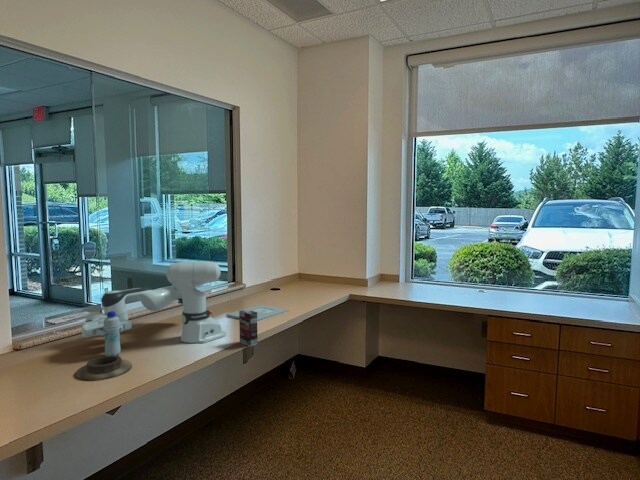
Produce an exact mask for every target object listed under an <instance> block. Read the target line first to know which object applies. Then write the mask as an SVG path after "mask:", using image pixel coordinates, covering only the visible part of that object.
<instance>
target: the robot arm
mask: <svg viewBox="0 0 640 480" xmlns="http://www.w3.org/2000/svg"><path fill="white" fill-rule="evenodd" d="M221 273H222V272H221V267H220V266H219V264H218V263H217V262H213V261H207V260H206V261H205V260H204V261H203V260H202V261H177V262H174V263H170V265H168V266H167V269H166V273H165V276H166V279H167V281H168V282H169V283H170V284H171V286H170V285H169V286H164V287H159V288H156V289H151V288H150V287H148V286H145V287H144V286H141V287H133V288H127V289H120V290H116V289H115V290H108V291H107V292H105V293H104V294H103V295H102V296H101V299H100V300H101V301H100V302H101V304H102V308H103V311H104V313H103V312H100V311H91V312H89V313H88V314H87V315H86V318H85V321H83V322H82V323H81V333H82V337H83V338H90V337H95V336H96V337H97V336H101V337H102V336H105V331H104V327H103V325H104V319H105V318H107V313H108V312H110V311H114V312H116V316H115V317H118V318H119V321H120V329H119V333H122V332H124V331H127V330H132V329H133V328H132V327H133V326H132V325H133V324H132V322H133V321H132V320H129V315H128V311H127V307H126V306H127V305H126V299H127V298H133V297H137V298H138V299H139V300H140V302H141V305H142V306H143V308H146V309H147V310H148V311H151V312H156V311H159V310H162V309H164V308H166V307H168V306H170V305H171V304H173V303H174V302H176V301H178V302H177V304H181V305H182V308H183V310H182V316H181V317H182V331H181V336H180V341H181V342H183V343H192V344H193V343H195V344H196V343H197V344H199V343H200V344H203V343H204V344H205V343H208V342H211V341H215V340H217V339H219V338H223V337H226V336H227V332H226V331H225V330H223V329H222V326H221V325H222V324H221V323H220V322H219V321H218V320H216V319H214V318H213V317H211V316H213V315H214V311H213V310H208V309H207V296H206V294H205V293H204V291H201V290H199V289H197V288H200V287H202V286H204V285H207V284H210V283H211V284H212V283H216V282H217V281H218V280H219V279H220V278H221ZM210 315H211V316H210Z"/></svg>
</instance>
